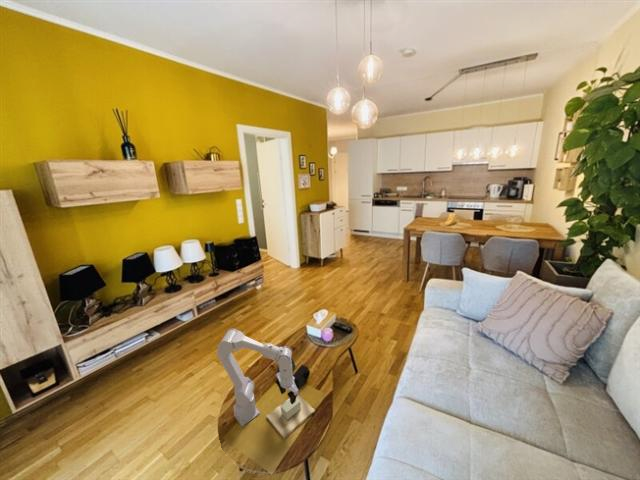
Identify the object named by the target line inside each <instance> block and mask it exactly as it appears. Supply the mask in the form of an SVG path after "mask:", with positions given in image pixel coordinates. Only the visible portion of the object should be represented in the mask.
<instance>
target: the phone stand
mask: <svg viewBox="0 0 640 480" xmlns="http://www.w3.org/2000/svg"><path fill="white" fill-rule="evenodd" d="M291 362H292V372H293V373H294V372H295V371H294V370H295V369H296V367H297V366H296V364H295V362H294V360H293V356H291ZM279 372H280V370H279V367H278V368H277V373H279Z"/></svg>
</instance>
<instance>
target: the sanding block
mask: <svg viewBox="0 0 640 480" xmlns="http://www.w3.org/2000/svg"><path fill="white" fill-rule="evenodd" d="M287 400H288V399H287ZM283 403H284V402H283ZM300 410H301V405H300V401H299V400H298V399H297V398H296V401H295V403H293V404H291V402H290V400H288V401H287V402H286V403H284V404H283V405H282V406H281V414H282V416H283V417H284V418H285V419H286V420H287V421H288V420H289V419H290V418H292V417H293V416H294V415H295V414H296V413H298V412H299V411H300Z"/></svg>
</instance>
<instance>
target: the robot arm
mask: <svg viewBox="0 0 640 480" xmlns="http://www.w3.org/2000/svg"><path fill="white" fill-rule="evenodd" d="M216 349H217V353H216V354H217V355H216V356H217V357H218V360H219V361H220V362H221V365H222V367H223V368H224V370H225V372H226V374H227V375H228V377H229V379H230V381H231V382H232V384H233V386H234V397H235V403H234V404H233V407H232V408H233V414H234V415H233V417H234V418H235V419H236V420H237V422H238V424H239V425H240V427H244V426H245V425H246V424H248V423H249V422H251V420H253V419H255V418H257V416H258V415H260V414H261V413H260V411H259V409H258V408H257V406H256V400H255V393H254V389H255V385H256V384H255V383H254V381H253V380H251V379H250V378H249V377H248V376H245V375H244V373H243V371H242V368H241V367H240V365H239V363H238V362H237V360H236V358H235V356H234V355H233V351H234V352H237V351H239V350H240V349H241V350H242V349H247V350H250V351H255V352H258V353H260V354H261V356H262V357H264V358H267V359H269V360H272V361H275V362H276V363H277V365H278V368H279V370H280V372H277V373H276V378H277V380H275V384H276V385H277V387H278V389H279V391H280V394H281V395H283V394H285V393H286V391H287V390H288V392H287V393H286V395H287V396H288V399H289V398H290V402H291V404H293V403H295V401H296V397H297V395H299V394H300V393H299V392H301V391H300V390H301V389H300V390H299V388H298V387H296V385H295V382H294V380H295V377H293V375H294V371H293V372H292V362H291V357H293V356H292V355H293V351H292V349H291V348H290V347H288V346H277V345H275V344H273V343H271V342H270V343H269V342H267V343H264V344H263V342H262V343H261V342H259V341H257V340H255V339H253V338H250V337H249V336H247V335H245V334H244V333H243V332H242V331H240V330H237V329H236V328H229V329H227V331H226V332H225V333H224V335H223V337H222V339H221V341H220V342H219V344H217V347H216Z"/></svg>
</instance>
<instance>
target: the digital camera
mask: <svg viewBox="0 0 640 480" xmlns="http://www.w3.org/2000/svg"><path fill="white" fill-rule="evenodd" d="M310 374H311V371H310V369H309V367H308V366H306V365H303V364H301V365H300V366H299V367H298V368H297V370H296V371H294V373H293V377H295V380H294V382H295V385H296V387H298V388H299V390H301V389H302V387H303V386H304V385H305V383H307V380H308V379H309V378H310Z"/></svg>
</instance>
